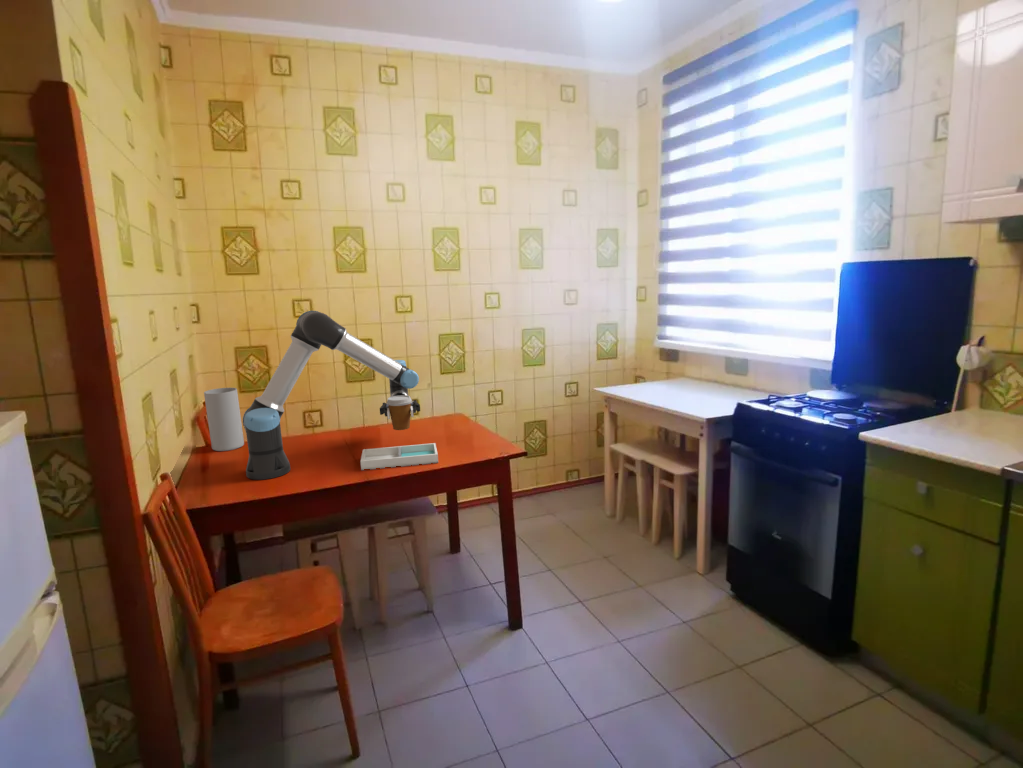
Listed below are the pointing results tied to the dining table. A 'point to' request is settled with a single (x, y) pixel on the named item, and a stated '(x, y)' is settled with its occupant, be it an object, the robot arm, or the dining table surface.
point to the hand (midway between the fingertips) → (400, 414)
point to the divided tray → (399, 456)
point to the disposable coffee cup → (400, 411)
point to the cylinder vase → (224, 419)
